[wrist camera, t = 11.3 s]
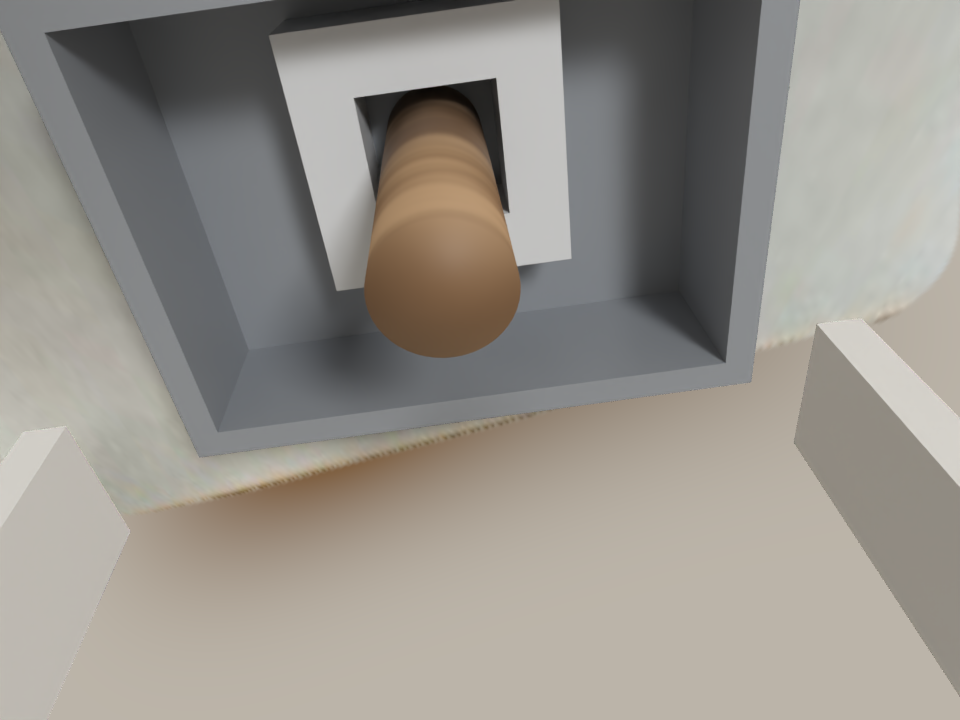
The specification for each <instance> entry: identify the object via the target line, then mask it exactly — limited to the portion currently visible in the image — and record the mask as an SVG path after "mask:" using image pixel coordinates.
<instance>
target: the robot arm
mask: <svg viewBox="0 0 960 720" xmlns="http://www.w3.org/2000/svg"><path fill="white" fill-rule="evenodd" d="M794 444H795V445H796V447H797V448H798V450H799V451H800V453H801V455H802V456H803V457H804V459H805V461H806V462H807V464H808V465H809V467H810V468H811V470H812V471H813V473H814V474H815V476H816V477H817V479H818V480H819V482H820V483H821V485H822V487H823V488H824V490H825V491H826V493H827V494H828V496H829V497H830V499H831V500H832V502H833V503H834V505H835V506H836V508H837V509H838V511H839V513H840V514H841V515H842V517H843V519H844V520H845V522H846V523H847V525H848V526H849V528H850V529H851V531H852V532H853V534H854V536H855V537H856V538H857V540H858V542H859V543H860V545H861V546H862V548H863V549H864V551H865V552H866V554H867V555H868V557H869V559H870V560H871V562H872V563H873V565H874V566H875V568H876V569H877V571H878V572H879V574H880V575H881V577H882V578H883V580H884V581H885V583H886V585H887V586H888V587H889V589H890V591H891V592H892V594H893V595H894V597H895V598H896V600H897V601H898V603H899V604H900V606H901V607H902V609H903V610H904V612H905V614H906V615H907V617H908V618H909V620H910V621H911V623H912V624H913V626H914V627H915V629H916V630H917V632H918V633H919V635H920V637H921V638H922V639H923V641H924V642H925V644H926V646H927V647H928V649H929V650H930V652H931V653H932V655H933V656H934V658H935V659H936V661H937V663H938V664H939V665H940V667H941V669H942V670H943V672H944V673H945V675H946V676H947V678H948V679H949V681H950V682H951V684H952V685H953V687H954V689H955V690H956V692H957V693H958V695H959V696H960V418H959V417H958V416H957V415H956V414H955V413H954V412H953V411H952V410H951V409H950V408H949V407H948V405H947V404H946V403H945V402H944V401H942V399H940V397H939V396H938V395H937V394H936V393H935V392H934V391H933V390H932V389H931V388H930V387H929V386H928V385H927V384H926V383H925V382H924V381H923V380H922V379H921V378H920V377H919V376H918V375H917V374H916V373H915V372H914V371H913V370H912V369H911V368H910V367H909V366H908V365H907V364H906V363H905V362H904V361H903V360H902V359H901V358H900V357H899V356H898V355H897V354H896V353H895V352H894V351H893V350H892V349H891V348H890V347H889V346H888V345H887V344H886V343H885V342H884V341H883V340H882V339H881V338H880V337H879V336H878V335H877V334H876V333H875V332H874V331H873V330H872V329H871V328H870V327H869V326H868V325H867V324H866V322H865V321H864V320H863V319H862V318H857V319H850V320H842V321H835V322H827V323H820V324H817V325H816V330H815V335H814V340H813V346H812V351H811V356H810V361H809V367H808V371H807V377H806V382H805V387H804V392H803V397H802V402H801V408H800V413H799V417H798V423H797V428H796V433H795V438H794ZM129 534H130V529H129V528H128V526H127V525H126V523H125V521H124V520H123V518H122V516H121V515H120V513H119V511H118V510H117V508H116V506H115V505H114V503H113V502H112V500H111V498H110V497H109V495H108V493H107V492H106V490H105V488H104V487H103V485H102V483H101V482H100V480H99V479H98V477H97V475H96V474H95V472H94V470H93V469H92V467H91V465H90V464H89V462H88V460H87V459H86V457H85V456H84V454H83V452H82V451H81V449H80V447H79V446H78V444H77V442H76V441H75V439H74V437H73V436H72V434H71V433H70V431H69V429H68V428H67V426H61V427H54V428H46V429H39V430H32V431H24V432H23V433H22V434H21V435H20V437H19V438H18V440H17V441H16V442H15V444H14V445H13V447H12V448H11V449H10V451H9V452H8V454H7V455H6V456H5V458H4V459H3V461H2V462H1V464H0V720H47V719H48V717H49V715H50V713H51V711H52V708H53V706H54V704H55V702H56V699H57V697H58V695H59V693H60V690H61V688H62V686H63V683H64V681H65V679H66V677H67V674H68V672H69V670H70V668H71V665H72V663H73V661H74V659H75V656H76V654H77V652H78V649H79V647H80V645H81V643H82V640H83V638H84V636H85V634H86V631H87V629H88V626H89V624H90V622H91V620H92V618H93V615H94V613H95V611H96V609H97V606H98V604H99V602H100V600H101V597H102V595H103V593H104V591H105V588H106V586H107V584H108V581H109V579H110V577H111V575H112V572H113V570H114V568H115V565H116V563H117V561H118V559H119V556H120V554H121V552H122V549H123V547H124V545H125V543H126V541H127V538H128V536H129Z"/></svg>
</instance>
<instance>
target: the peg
mask: <svg viewBox="0 0 960 720" xmlns="http://www.w3.org/2000/svg"><path fill="white" fill-rule="evenodd" d="M520 293H521V282H520V277H519V272H518V268H517V264H516V260H515V256H514V252H513V248H512V244H511V240H510V236H509V232H508V228H507V224H506V220H505V216H504V212H503V208H502V204H501V200H500V196H499V192H498V188H497V184H496V181H495V177H494V173H493V169H492V165H491V161H490V157H489V153H488V149H487V145H486V141H485V137H484V133H483V129H482V125H481V121H480V118H479V115H478V113H477V111H476V109H475V107H474V106H473V104H472V103H471V102H470V101H469V99H468V98H466V97H465V96H464V95H463V94H462V93H460V92H459V91H457V90H455V89H453V88H450V87H448V86H444V85H442V86H435V87H428V88H421V89H413V90H411V91H409V92H407V93H406V94H405V95H403V96H402V97H401V98H400V99H399V101H398V102H397V103H396V104H395V106H394V108H393V109H392V111H391V114H390V116H389V120H388V125H387V132H386V139H385V146H384V153H383V159H382V166H381V173H380V180H379V187H378V194H377V200H376V207H375V214H374V221H373V228H372V235H371V242H370V248H369V255H368V262H367V269H366V276H365V283H364V296H365V302H366V306H367V309H368V312H369V314H370V316H371V318H372V320H373V322H374V323H375V325H376V326H377V328H378V329H379V330H380V331H381V332H382V334H383V335H384V336H385V337H387V338H388V339H389V340H390V341H391V342H393V343H394V344H396V345H397V346H399V347H401V348H403V349H405V350H407V351H409V352H412V353H414V354H418V355H422V356H426V357H433V358H450V357H457V356H463V355H466V354H469V353H472V352H475V351H477V350H479V349H481V348H483V347H485V346H487V345H488V344H490V343H491V342H493V341H494V340H495V339H496V338H498V337H499V336H500V335H501V334H502V333H503V332H504V330H505V329H506V328H507V327H508V325H509V324H510V322H511V321H512V319H513V317H514V315H515V313H516V311H517V308H518V304H519V301H520Z"/></svg>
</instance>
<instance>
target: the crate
mask: <svg viewBox="0 0 960 720" xmlns="http://www.w3.org/2000/svg"><path fill="white" fill-rule="evenodd" d="M799 5H800V0H0V30H1V33H2V35H3V37H4V39H5V41H6V43H7V45H8V48H9V50H10V52H11V54H12V56H13V58H14V61H15V63H16V65H17V67H18V69H19V71H20V73H21V76H22V78H23V80H24V82H25V84H26V86H27V88H28V91H29V93H30V95H31V97H32V99H33V101H34V103H35V106H36V108H37V110H38V112H39V114H40V116H41V118H42V121H43V123H44V125H45V127H46V129H47V131H48V133H49V136H50V138H51V140H52V142H53V144H54V146H55V149H56V151H57V153H58V155H59V157H60V159H61V161H62V164H63V166H64V168H65V170H66V172H67V174H68V176H69V179H70V181H71V183H72V185H73V187H74V189H75V191H76V194H77V196H78V198H79V200H80V202H81V204H82V206H83V209H84V211H85V213H86V215H87V217H88V219H89V222H90V224H91V226H92V228H93V230H94V232H95V234H96V237H97V239H98V241H99V243H100V245H101V247H102V249H103V252H104V254H105V256H106V258H107V260H108V262H109V264H110V267H111V269H112V271H113V273H114V275H115V277H116V279H117V282H118V284H119V286H120V288H121V290H122V292H123V295H124V297H125V299H126V301H127V303H128V305H129V307H130V310H131V312H132V314H133V316H134V318H135V320H136V322H137V325H138V327H139V329H140V331H141V333H142V335H143V337H144V340H145V342H146V344H147V346H148V348H149V350H150V352H151V355H152V357H153V359H154V361H155V363H156V365H157V368H158V370H159V372H160V374H161V376H162V378H163V380H164V383H165V385H166V387H167V389H168V391H169V393H170V395H171V398H172V400H173V402H174V404H175V406H176V408H177V410H178V413H179V415H180V417H181V419H182V421H183V423H184V425H185V428H186V430H187V432H188V434H189V436H190V438H191V441H192V443H193V445H194V447H195V449H196V451H197V453H198V456H199V457H206V456H214V455H221V454H228V453H236V452H243V451H250V450H258V449H265V448H272V447H280V446H287V445H294V444H302V443H309V442H316V441H324V440H331V439H338V438H346V437H353V436H360V435H368V434H375V433H382V432H390V431H397V430H404V429H412V428H419V427H426V426H434V425H441V424H449V423H456V422H463V421H471V420H478V419H485V418H493V417H500V416H507V415H515V414H522V413H529V412H537V411H544V410H551V409H559V408H566V407H573V406H580V405H588V404H595V403H602V402H610V401H617V400H625V399H632V398H639V397H647V396H654V395H661V394H669V393H676V392H683V391H691V390H698V389H706V388H712V387H720V386H727V385H735V384H742V383H750V382H751V379H752V372H753V363H754V356H755V348H756V340H757V333H758V325H759V317H760V309H761V301H762V294H763V286H764V278H765V270H766V262H767V255H768V247H769V239H770V231H771V223H772V216H773V208H774V200H775V192H776V184H777V177H778V169H779V161H780V153H781V145H782V137H783V130H784V122H785V114H786V106H787V98H788V91H789V83H790V75H791V67H792V59H793V52H794V44H795V36H796V28H797V20H798V13H799ZM442 85H444V86H448V87H450V88H453V89H455V90H457V91H459V92H460V93H462V94H463V95H464V96H465V97H466V98H468V99H469V101H470V102H471V103H472V104H473V106H474V107H475V109H476V111H477V113H478V115H479V118H480V121H481V125H482V129H483V133H484V137H485V141H486V145H487V149H488V153H489V157H490V161H491V165H492V169H493V173H494V177H495V181H496V184H497V188H498V192H499V196H500V200H501V204H502V208H503V212H504V216H505V220H506V224H507V228H508V232H509V236H510V240H511V244H512V248H513V252H514V256H515V260H516V264H517V268H518V272H519V277H520V282H521V293H520V301H519V304H518V308H517V311H516V313H515V315H514V317H513V319H512V321H511V322H510V324H509V325H508V327H507V328H506V329H505V330H504V332H503V333H502V334H501V335H500V336H499V337H498V338H496V339H495V340H494V341H493V342H491V343H490V344H488V345H487V346H485V347H483V348H481V349H479V350H477V351H475V352H472V353H469V354H466V355H463V356H457V357H450V358H433V357H426V356H422V355H418V354H414V353H412V352H409V351H407V350H405V349H403V348H401V347H399V346H397V345H396V344H394V343H393V342H391V341H390V340H389V339H388V338H387V337H385V336H384V335H383V334H382V332H381V331H380V330H379V329H378V328H377V326H376V325H375V323H374V322H373V320H372V318H371V316H370V314H369V312H368V309H367V306H366V302H365V296H364V283H365V276H366V269H367V262H368V255H369V248H370V242H371V235H372V228H373V221H374V214H375V207H376V200H377V194H378V187H379V180H380V173H381V166H382V159H383V153H384V146H385V139H386V132H387V125H388V120H389V116H390V114H391V111H392V109H393V108H394V106H395V104H396V103H397V102H398V101H399V99H400V98H401V97H402V96H403V95H405V94H406V93H407V92H409V91H411V90H413V89H421V88H428V87H435V86H442Z"/></svg>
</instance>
